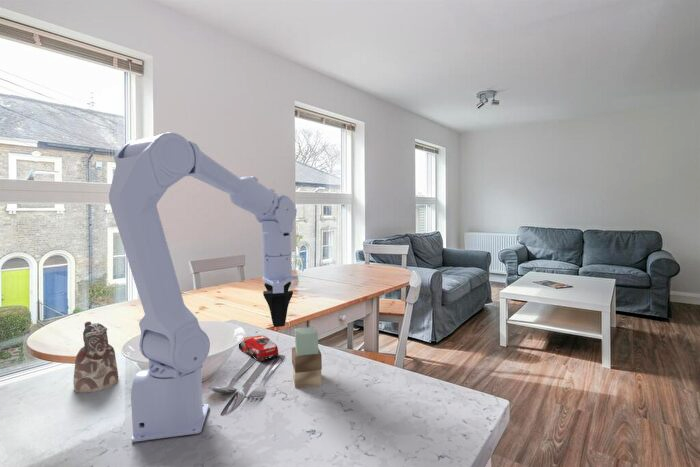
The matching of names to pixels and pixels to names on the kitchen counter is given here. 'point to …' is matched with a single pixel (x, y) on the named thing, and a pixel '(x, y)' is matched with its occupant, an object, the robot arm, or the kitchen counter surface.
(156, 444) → the kitchen counter surface
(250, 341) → the race car
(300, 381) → the beech base block
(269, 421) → the kitchen counter surface
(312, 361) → the walnut top block
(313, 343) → the sage cube
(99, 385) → the figurine
